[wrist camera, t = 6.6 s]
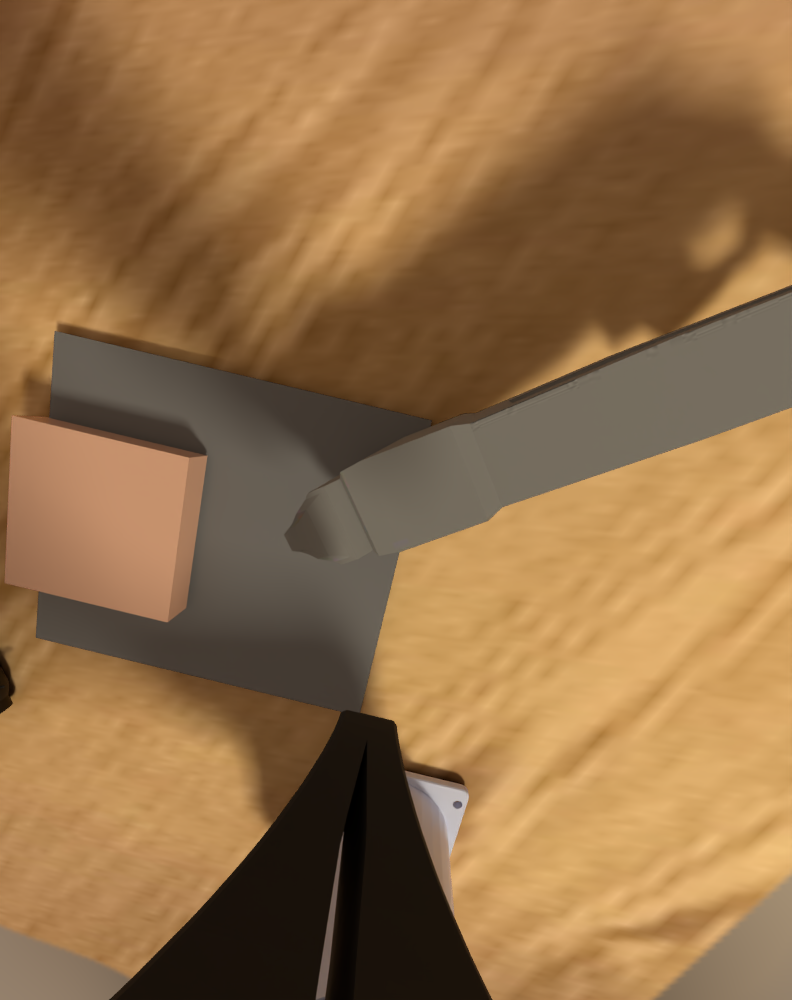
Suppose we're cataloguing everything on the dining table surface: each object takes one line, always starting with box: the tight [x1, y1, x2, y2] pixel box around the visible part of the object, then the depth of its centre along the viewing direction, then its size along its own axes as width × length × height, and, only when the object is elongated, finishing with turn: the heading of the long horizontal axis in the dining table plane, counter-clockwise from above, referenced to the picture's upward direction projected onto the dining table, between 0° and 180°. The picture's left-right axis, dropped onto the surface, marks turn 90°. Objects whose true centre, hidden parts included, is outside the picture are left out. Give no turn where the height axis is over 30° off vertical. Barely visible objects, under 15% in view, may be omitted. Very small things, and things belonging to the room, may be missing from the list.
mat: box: [36, 331, 432, 713], centre depth 19 cm, size 16×18×1 cm
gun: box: [284, 285, 792, 565], centre depth 14 cm, size 3×25×15 cm, turn 113°
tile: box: [5, 415, 207, 622], centre depth 18 cm, size 8×2×8 cm
